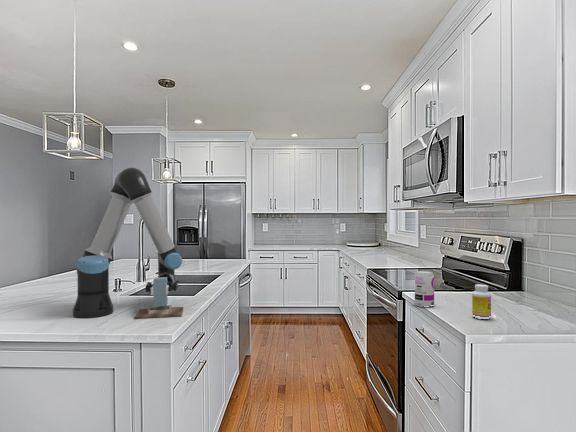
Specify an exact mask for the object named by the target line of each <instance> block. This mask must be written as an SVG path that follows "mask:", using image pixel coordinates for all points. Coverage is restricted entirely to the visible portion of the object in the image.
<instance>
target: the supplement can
mask: <svg viewBox="0 0 576 432" xmlns="http://www.w3.org/2000/svg"><path fill="white" fill-rule="evenodd" d="M414 304H415V305H416V307H419V308H424V307H423V306H430V305H434V306H435V274H434V272H433V271H429V270H418V271H415V274H414Z"/></svg>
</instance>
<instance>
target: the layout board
mask: <svg viewBox="0 0 576 432" xmlns="http://www.w3.org/2000/svg"><path fill="white" fill-rule="evenodd" d="M183 312H184V306H176V307H173V306H172V305H168V304H167V306H156V307H154V305H150V306H149V308H139V309H138V311H137V312H136V314H135V315H134V316H133V317H134V319H133V320H143V319H164V318H179V317H183Z"/></svg>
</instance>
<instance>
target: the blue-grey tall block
mask: <svg viewBox="0 0 576 432" xmlns="http://www.w3.org/2000/svg"><path fill="white" fill-rule="evenodd" d="M152 284H153V288H154V294H153V306H154V307H156V306H167V305H168V295H166V286H167V277H159V278H158V277H154V278H153V283H152Z"/></svg>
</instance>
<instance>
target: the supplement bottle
mask: <svg viewBox="0 0 576 432" xmlns="http://www.w3.org/2000/svg"><path fill="white" fill-rule="evenodd" d="M471 293H472V294H471V295H472V296H471V297H472V298H471V299H472V301H471V303H472V304H471V306H472V309H471V311H472V312H471V313H472V314H473V315H475V316H480V317H489V316H491V317H492V295H491V293H490V292H489V285H487V284H479V283H478V284H477V283H476V284H474V291H473V292H471ZM472 314H471V315H472Z"/></svg>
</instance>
